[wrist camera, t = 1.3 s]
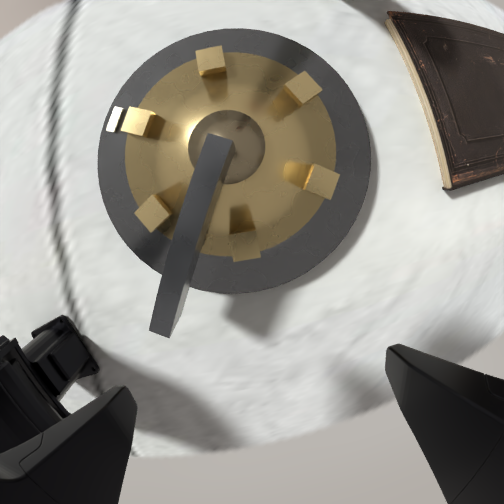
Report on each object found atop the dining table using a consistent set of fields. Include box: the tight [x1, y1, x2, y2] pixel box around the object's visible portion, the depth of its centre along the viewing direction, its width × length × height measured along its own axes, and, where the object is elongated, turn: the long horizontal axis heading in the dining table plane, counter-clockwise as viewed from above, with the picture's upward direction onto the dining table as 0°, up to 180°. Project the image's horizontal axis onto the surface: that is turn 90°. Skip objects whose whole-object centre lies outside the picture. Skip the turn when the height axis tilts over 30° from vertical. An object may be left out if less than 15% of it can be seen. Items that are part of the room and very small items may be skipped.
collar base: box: [98, 29, 371, 294], centre depth 18 cm, size 19×19×2 cm
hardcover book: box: [385, 11, 504, 190], centre depth 16 cm, size 16×23×2 cm
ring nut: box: [121, 45, 340, 338], centre depth 15 cm, size 14×14×5 cm
